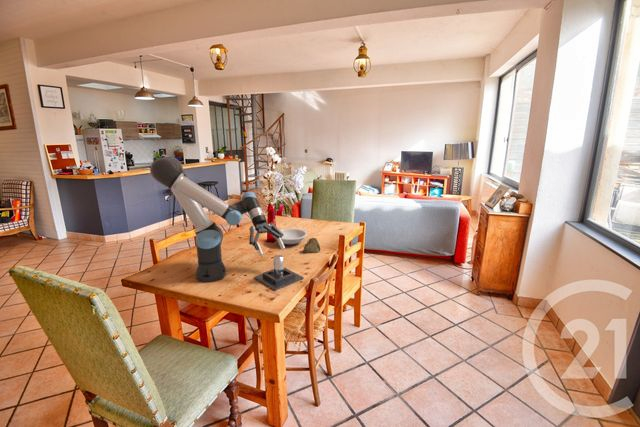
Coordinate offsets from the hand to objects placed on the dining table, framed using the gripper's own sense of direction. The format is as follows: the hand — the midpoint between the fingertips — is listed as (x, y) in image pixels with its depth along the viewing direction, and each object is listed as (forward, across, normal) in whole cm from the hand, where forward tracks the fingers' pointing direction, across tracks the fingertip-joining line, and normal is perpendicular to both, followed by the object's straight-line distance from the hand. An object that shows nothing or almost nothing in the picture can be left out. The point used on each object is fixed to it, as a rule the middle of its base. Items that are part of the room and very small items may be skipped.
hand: (272, 252), depth 158 cm
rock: (+1, -37, -17) cm, 41 cm away
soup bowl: (-14, -36, -33) cm, 51 cm away
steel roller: (+13, 0, -3) cm, 13 cm away
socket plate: (+14, 0, -4) cm, 14 cm away
